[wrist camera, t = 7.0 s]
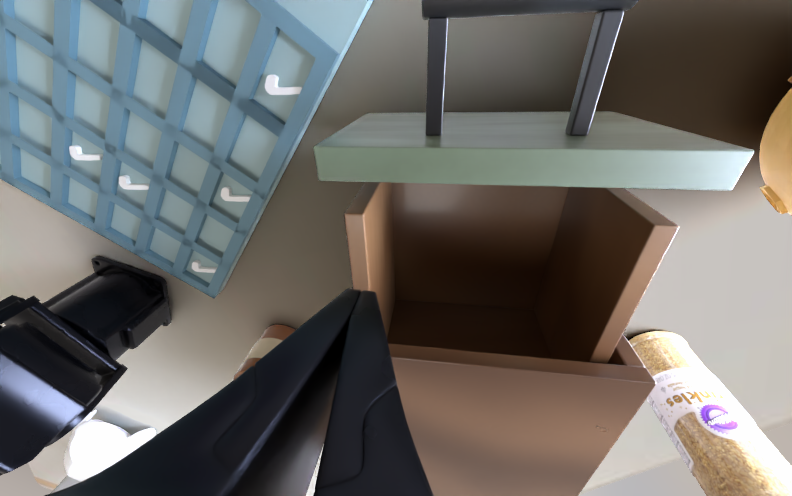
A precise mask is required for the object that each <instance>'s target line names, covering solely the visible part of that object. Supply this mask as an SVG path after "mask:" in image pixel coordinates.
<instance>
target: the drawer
mask: <svg viewBox="0 0 792 496" xmlns="http://www.w3.org/2000/svg"><path fill="white" fill-rule="evenodd" d="M638 1H639V0H422V16H423V19H424V20H429V27H428V63H427V99H426V113H367V114H365V115H363V116H362V117H360V118H359V119H357V120H355V121H354V122H352V123H350V124H349V125H347V126H346V127H344V128H342V129H341V130H339V131H338V132H336V133H334V134H333V135H331V136H330V137H328V138H326V139H325V140H323V141H322V142H320V143H318V144H317V145H315V146H314V147H313V149H314V155H315V162H316V168H317V174H318V180H319V181H348V182H365V183H364V185H363V186H362V188H361V189H360V191H359V192H358V194H357V195H356V196H355V198H354V199H353V201H352V202H351V204H350V205H349V207H348V208H347V210H346V211H345V213H344V219H345V227H346V235H347V244H348V252H349V260H350V268H351V276H352V284H353V289H358V290H361V292H362V291H363V290H367V291H374V292H376V294H377V298H378V303H379V307H380V311H381V316H382V320H383V324H384V329H385V333H386V337H387V342H388V343H389V344H400V345H410V346H421V347H432V348H442V349H453V350H464V351H474V352H485V353H496V354H506V355H517V356H528V357H538V358H549V359H560V360H570V361H581V362H592V363H602V364H607V362H608V360H609V359H610V357H611V355H612V353H613V351H614V349H615V347H616V345H617V344H618V342H619V340H620V338H621V336H622V334H623V332H624V330H625V329H626V327H627V325H628V323H629V321H630V319H631V317H632V315H633V314H634V312H635V310H636V308H637V306H638V304H639V302H640V300H641V298H642V297H643V295H644V293H645V291H646V289H647V287H648V285H649V283H650V282H651V280H652V278H653V276H654V274H655V272H656V270H657V268H658V267H659V265H660V263H661V261H662V259H663V257H664V255H665V253H666V251H667V250H668V248H669V246H670V244H671V242H672V240H673V238H674V236H675V235H676V233H677V231H678V229H679V226H678V225H677V224H675V223H674V222H672V221H671V220H670V219H668V218H667V217H665V216H664V215H662V214H661V213H659V212H658V211H656V210H655V209H653V208H652V207H650V206H649V205H648V204H646V203H645V202H643V201H642V200H640V199H639V198H637V197H636V196H634V195H633V194H631V193H630V192H628V191H627V190H625V189H624V188H639V189H681V190H722V191H730V190H732V189H733V187H734V186H735V184H736V182H737V181H738V179H739V177H740V176H741V174H742V172H743V171H744V169H745V167H746V166H747V164H748V162H749V160H750V159H751V157H752V155H753V154H754V150H752V149H748V148H745V147H741V146H737V145H734V144H730V143H726V142H723V141H719V140H715V139H712V138H708V137H704V136H701V135H697V134H693V133H690V132H686V131H682V130H679V129H675V128H671V127H668V126H664V125H660V124H657V123H653V122H649V121H646V120H642V119H638V118H634V117H631V116H627V115H623V114H620V113H616V112H612V111H602V112H595V109H596V106H597V103H598V99H599V96H600V93H601V89H602V86H603V83H604V79H605V76H606V73H607V69H608V66H609V62H610V59H611V56H612V52H613V49H614V46H615V42H616V39H617V36H618V32H619V29H620V26H621V22H622V19H623V15H624V11H626V10H629V9H631V8H632V7H633V6H634V5H635V4H636V3H637V2H638ZM584 12H599V13H597V14H596V15H595V18H594V22H593V26H592V30H591V34H590V38H589V41H588V45H587V49H586V53H585V57H584V61H583V65H582V69H581V72H580V76H579V80H578V84H577V88H576V92H575V96H574V99H573V103H572V107H571V111H570V112H443V106H444V88H445V70H446V52H447V34H448V19H453V18H475V17H497V16H518V15H540V14H562V13H584Z"/></svg>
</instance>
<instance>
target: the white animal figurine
mask: <svg viewBox="0 0 792 496" xmlns="http://www.w3.org/2000/svg"><path fill="white" fill-rule="evenodd" d="M96 413H97V410H94V411H93V412H91V413H89V414H88V415H87V416H86V417H85V418H84V419H83V420H82V421H81V422H80V423H79V424H78V425H77V426H76V427H74V428H73V432H72V434H71V436H70V440H69V444H68V446H67V449H66V451H65V454H64V467H65V471H66V474H67V475H68V476H69V477H71V478H73V479H76V480H78V481H84V480H86V479H88V478H90V477H92V476H94V475H96V474H98V473H99V472H101V471H103V470H105V469H106V468H108V467H110V466H111V465H113V464H115V463H116V462H118V461H119V460H121V459H122V458H124V457H125V456H127V455H128V454H130V453H131V452H133V451H134V450H136V449H137V448H139V447H140V446H141V445H143V444H144V443H146V442H147V441H149V440H150V439H152V438H153V437H155V435H156V431H155V429H154V428H149V429H145V430H141V431H139V432H137V433H135V434H133V435H132V436H131V435H130V434H129V433H128V432H126V431H125V430H124V429H122V428H120V427H119V426H116V425H113V424H110V423H106V422H103V421H101V420H92V419H91V418H92V417H93V416H94V415H95V414H96Z"/></svg>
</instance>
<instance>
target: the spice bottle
mask: <svg viewBox="0 0 792 496" xmlns="http://www.w3.org/2000/svg"><path fill="white" fill-rule="evenodd" d="M294 331H295V329H293V328H291V327H289V326H285V325H272V326H269V327H268V328H266V330H265V331H264V333H263V334H262V335H261V337H260V338H259V340H258V341H257V342H256V343H255V345H254V346H253V348H252V349H251V351H250V352H249V354H248V355H247V357H246V358H245V360H244V361H243V363H242V365H241V367H240V368H239V370H238V371H237V373H236V374H235V376H234V380H235V379H236V378H237V377H238V376H240V375H241V374H242V373H243V372H245V371H246V370H247V369H248V368H250V367H251V366H254V367H255V363H256V362H257V361H258V360H260V359H261V358H262V357H263V356H265V355H266V354H267V353H268V352H270V351H271V350H272V349H273V348H274V347H276V346H277V345H278V344H279V343H281V342H282V341H283V340H284V339H286V338H287V337H288V336H289V335H291V334H292V333H293V332H294Z"/></svg>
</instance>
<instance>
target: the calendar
mask: <svg viewBox="0 0 792 496" xmlns="http://www.w3.org/2000/svg"><path fill="white" fill-rule="evenodd" d="M372 2H373V0H0V179H2V180H3V181H5V182H7V183H9V184H11V185H12V186H14V187H16V188H18V189H20V190H21V191H23V192H25V193H27V194H29V195H30V196H32V197H34V198H36V199H38V200H39V201H41V202H43V203H45V204H46V205H48V206H50V207H52V208H53V209H55V210H57V211H59V212H61V213H63V214H64V215H66V216H68V217H70V218H71V219H73V220H75V221H77V222H79V223H80V224H82V225H84V226H86V227H87V228H89V229H91V230H93V231H94V232H96V233H98V234H100V235H102V236H103V237H105V238H107V239H109V240H111V241H112V242H114V243H116V244H118V245H120V246H121V247H123V248H125V249H127V250H129V251H130V252H132V253H134V254H135V255H137V256H139V257H141V258H143V259H145V260H146V261H148V262H150V263H152V264H153V265H155V266H157V267H159V268H161V269H162V270H164V271H166V272H168V273H170V274H171V275H173V276H175V277H177V278H178V279H180V280H182V281H184V282H186V283H187V284H189V285H191V286H193V287H195V288H196V289H198V290H200V291H202V292H203V293H205V294H207V295H209V296H210V297H212V298H215V297H216V296H217V295H218V294H219V293H220V292H221V291H222V290H223V289H224V287H225V285H226V283H227V281H228V279H229V277H230V275H231V274H232V272H233V270H234V268H235V266H236V264H237V262H238V260H239V258H240V256H241V254H242V252H243V250H244V248H245V247H246V245H247V243H248V241H249V239H250V237H251V235H252V233H253V231H254V229H255V227H256V225H257V223H258V222H259V220H260V218H261V216H262V214H263V212H264V210H265V208H266V206H267V204H268V202H269V200H270V198H271V197H272V195H273V193H274V191H275V189H276V187H277V185H278V183H279V181H280V179H281V177H282V175H283V173H284V171H285V170H286V168H287V166H288V164H289V162H290V160H291V158H292V156H293V154H294V152H295V150H296V148H297V146H298V145H299V143H300V141H301V139H302V137H303V135H304V133H305V131H306V129H307V127H308V125H309V123H310V121H311V120H312V118H313V116H314V114H315V112H316V110H317V108H318V106H319V104H320V102H321V100H322V98H323V96H324V94H325V93H326V91H327V89H328V87H329V85H330V83H331V81H332V79H333V77H334V75H335V73H336V71H337V69H338V68H339V66H340V64H341V62H342V60H343V58H344V56H345V54H346V52H347V50H348V48H349V46H350V44H351V42H352V41H353V39H354V37H355V35H356V33H357V31H358V29H359V27H360V25H361V23H362V21H363V19H364V17H365V16H366V14H367V12H368V10H369V8H370V6H371V4H372Z"/></svg>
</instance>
